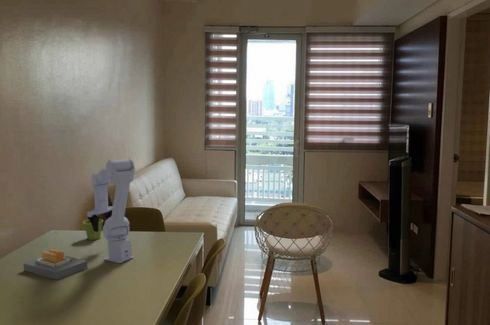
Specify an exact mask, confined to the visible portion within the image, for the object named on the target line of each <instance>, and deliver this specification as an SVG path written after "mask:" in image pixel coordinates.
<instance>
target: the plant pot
mask: <svg viewBox="0 0 490 325" xmlns="http://www.w3.org/2000/svg"><path fill="white" fill-rule="evenodd" d="M103 222H104V220H103V219H100V218H99V223H98V232H96V231H94V230H93V227H92V224H91V222H90V220H89V219H86V220H84V221H83V222H82V223H83V224H82V225H84V228H85V229H84V230H85V233H86V237H87V240H89V241H95V240H100V239H101V236H102V229H103Z"/></svg>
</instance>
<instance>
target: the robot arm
mask: <svg viewBox="0 0 490 325" xmlns="http://www.w3.org/2000/svg"><path fill="white" fill-rule="evenodd" d="M135 170H136V167H135V162H134V160H133V159H132V158H125V159H123V158H122V159H114V160H113V159H112V160H111V159H108V160H107V162H106V164H105V166H102V167H101V169H100V170H99V171H98V172H97V173H95V172H93V173H91V178H90V179H91V180H90V181H91V184H92V185H91V186H92V187H93V195H94V196H93V197H94V209H92V210H90V211H87V213H86V214H87V220H90V222H91V224H92V227H93V230H94V231H96V232H98V223H99V219H100V216H98V215H102V214H104V216H105V221H104V223H103V224H104V225H102V236H103V238H104V239H105V240H107V257H105V258H103V260H104V261H108V262H113V263H116V264H117V263H118V264H121V263H124V262H126V261H128V260H131V259H133V258H134V256H133V254H132V242H131V241H130V240H129V239H127V238H128V237H127V236H128V235H129V234H130V221H129V219H128V218H127V217H126V216H125V214H126V207H127V203H128V197H129V196H128V195H129V190H130V185H131V184H130V183H132V182H133V181H134V176H135V173H136V172H135ZM110 182H111V184H112V185H115V193H114V199H113V203H112V204H113V205H112V206H111V205H110V206H109V196H108V190H109V184H110Z"/></svg>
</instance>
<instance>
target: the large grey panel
mask: <svg viewBox="0 0 490 325" xmlns="http://www.w3.org/2000/svg"><path fill="white" fill-rule="evenodd" d="M86 269H88V261H87V260H84V259H81V258H76V257H72V256H68V255H64V261H62V262H59V263H56V264H54V263H50V262H47V261H43V260H42V257H39V258H36V259H33V260H30V261H27V262H24V263H23V271H24V272H26V273H30V274H35V275H38V276H41V277H45V278H48V279H52V280H55V281H58V280H61V279H63V278H66V277H68V276H71V275H73V274H76V273H79V272H81V271H84V270H86Z"/></svg>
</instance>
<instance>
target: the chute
mask: <svg viewBox="0 0 490 325" xmlns="http://www.w3.org/2000/svg"><path fill="white" fill-rule="evenodd" d="M64 256H65V253H64V251H62V250H56V249H54V248H53V249H52V248H50V249H48V251H44V250H43V251H41V258H42V260H43V261H47V262H50V263H54V264H56V263H59V262H62V261H64Z"/></svg>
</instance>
